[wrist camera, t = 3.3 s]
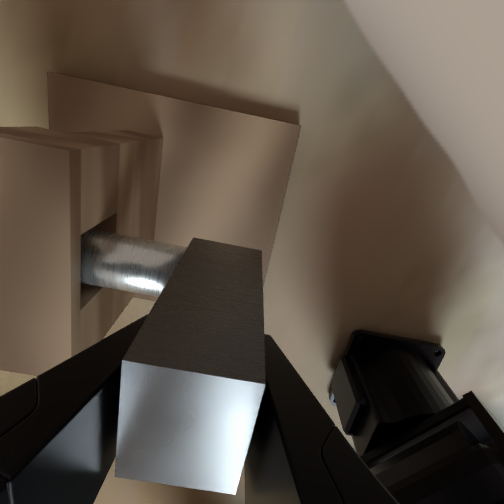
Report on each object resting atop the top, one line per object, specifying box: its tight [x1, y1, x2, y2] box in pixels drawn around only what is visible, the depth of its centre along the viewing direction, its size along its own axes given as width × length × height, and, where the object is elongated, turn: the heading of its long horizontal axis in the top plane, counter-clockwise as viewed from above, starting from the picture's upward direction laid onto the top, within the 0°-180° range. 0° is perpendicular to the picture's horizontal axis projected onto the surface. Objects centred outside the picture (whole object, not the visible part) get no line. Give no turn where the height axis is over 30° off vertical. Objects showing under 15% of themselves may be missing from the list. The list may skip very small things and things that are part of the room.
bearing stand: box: [0, 71, 301, 376], centre depth 15 cm, size 13×12×10 cm
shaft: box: [80, 229, 266, 495], centre depth 9 cm, size 10×3×8 cm, turn 79°
